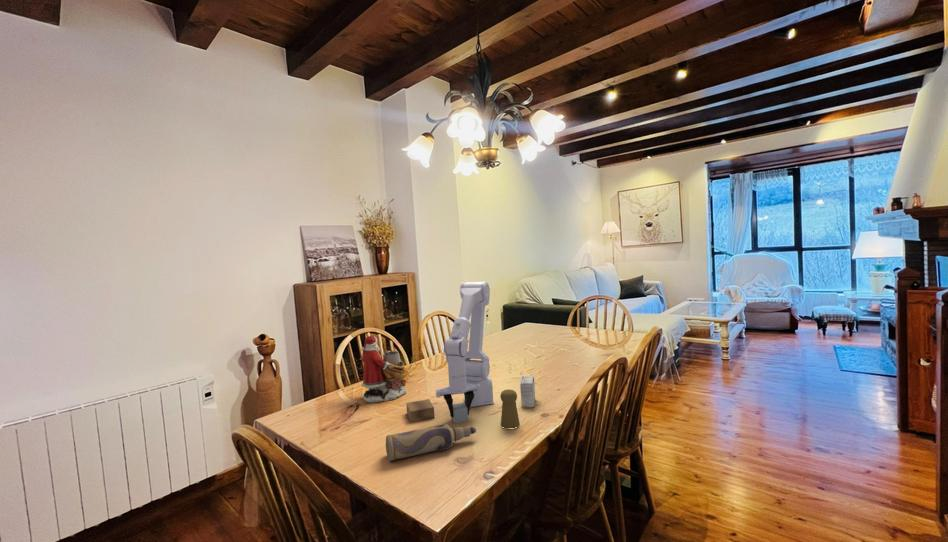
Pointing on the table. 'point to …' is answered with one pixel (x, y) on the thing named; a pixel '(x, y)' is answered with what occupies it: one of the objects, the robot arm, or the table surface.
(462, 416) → the slate cube
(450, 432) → the decorative bottle
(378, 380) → the santa figurine
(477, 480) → the table surface
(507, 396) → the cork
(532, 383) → the medicine box
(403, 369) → the magic lamp
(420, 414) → the walnut block
